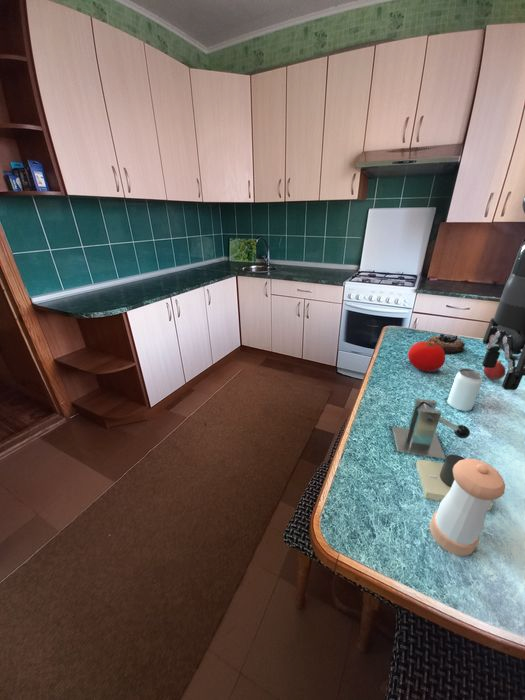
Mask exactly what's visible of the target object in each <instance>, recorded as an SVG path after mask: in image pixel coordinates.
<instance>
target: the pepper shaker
mask: <svg viewBox="0 0 525 700" xmlns="http://www.w3.org/2000/svg"><path fill="white" fill-rule="evenodd" d="M453 475H454V479H455V480H454V482H453V484H452V487H451V489H450V491H449V492H448V493H447V495H446V496H445V497H444V499H443V500H442V501H441V502H440V503H439V506H438V509H437V510H436V511H435V512H434V513H433V515H432V517H431V520H430V523H429V532H430V535H431V536H432V538H433V539H434V541H435V542H436V543H437V544H438V545H439V546H440V547H441V548H442V549H444V550H445V551H447V552H449V553H450V554H453V555H456V556H459V557H466V556H470V555H472V554H473V552H474V551H475V549H476V547H477V545H478V544H479V539H480V537H479V536H480V534H481V533H482V531H483V529H484V525H485V520H486V515H487V512H488V511H487V510H488V508H489V506H490V504H491V502H492V503H493V501H494V500H498V499H500V498H501V497H502V496H503V495H505V492H506V490H505V489H506V483H505V481H504V478H503V476H502V475H501V473H500V472H499V471H498V470H497V469H496V468H495V467H493V466H491V464H488V463H487V462H485V461H483V460H480V459H477V458H465V459H464V460H460V461H458V462H457V463H456V464H455V465H454V467H453Z"/></svg>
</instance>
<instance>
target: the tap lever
mask: <svg viewBox="0 0 525 700" xmlns="http://www.w3.org/2000/svg"><path fill="white" fill-rule="evenodd" d="M420 409H428V410H434V408H432V407H430V406H428V405H426V404H425V403H424V404H423V405H421V406H420V407H419V408H418V409H417V410H418V412H419V410H420ZM438 423H440V424H442V425H443V426H445V427H447V428H449V429H451V430H452V431H453V434H454V435H455V436H456V437H457V438H459V439H463V440H464V439H467V438H468V437H469V436H470V434H471V430H470V429H469V427H467V426H466V425H464V424H458V425H457V424H456V423H455V424H454V423H453V422H451V421H449V420H448V419H446V418H444V417H442V416H440V419H439V422H438Z"/></svg>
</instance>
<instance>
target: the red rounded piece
mask: <svg viewBox="0 0 525 700" xmlns="http://www.w3.org/2000/svg"><path fill="white" fill-rule="evenodd" d="M483 374H484V376H485V377H486V378H487V379H489V380H490V381H496V380H500V379H502V378H503V377H505V376H506V367H505V366H504V365H503V363H502V360H501V359H498V361H497V363H496V366H495V367H494V368H486V367H484V368H483Z"/></svg>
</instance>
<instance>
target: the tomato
mask: <svg viewBox="0 0 525 700" xmlns="http://www.w3.org/2000/svg"><path fill="white" fill-rule="evenodd" d="M407 359H408V361H409V362H410V364H411V365H412V366H413V367H414V368H415V369H417V370H419V371H422V372H435V371H437V370H439V369H441V368H442V367H443V366H444V364H445V362H446V354H445V353H444V350H443V348H442V347H441V346H439V345H438V344H436V343H433V342H429V341H428V340H427V341H426V340H425V341H424V340H423V341H418V342H416V343H414V344H413V345H412V346H411V347H410V348H409V350H408V353H407Z"/></svg>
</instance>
